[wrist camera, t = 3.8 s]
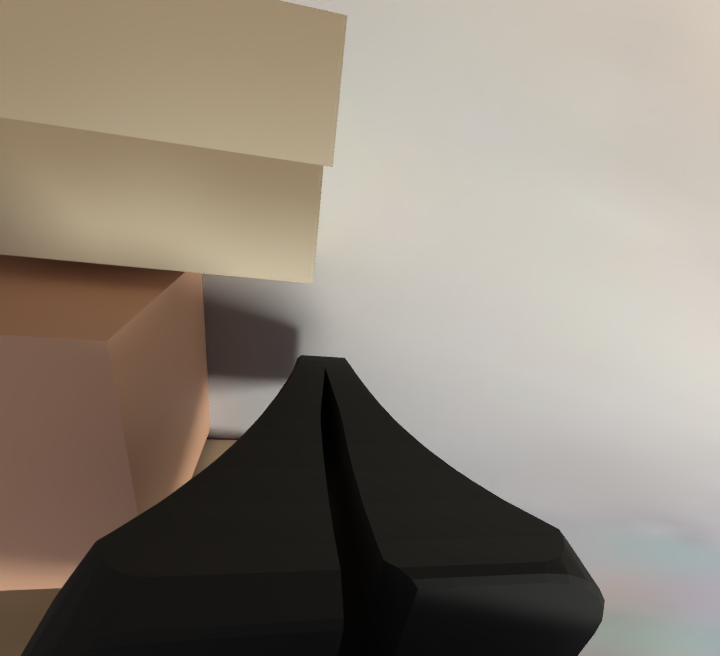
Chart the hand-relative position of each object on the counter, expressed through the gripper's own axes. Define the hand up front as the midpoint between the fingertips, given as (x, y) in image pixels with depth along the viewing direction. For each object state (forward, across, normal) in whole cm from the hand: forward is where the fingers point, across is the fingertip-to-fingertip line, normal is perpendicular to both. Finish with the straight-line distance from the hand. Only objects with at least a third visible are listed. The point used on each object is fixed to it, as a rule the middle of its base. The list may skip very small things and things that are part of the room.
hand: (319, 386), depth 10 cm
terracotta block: (+2, +6, 0) cm, 6 cm away
